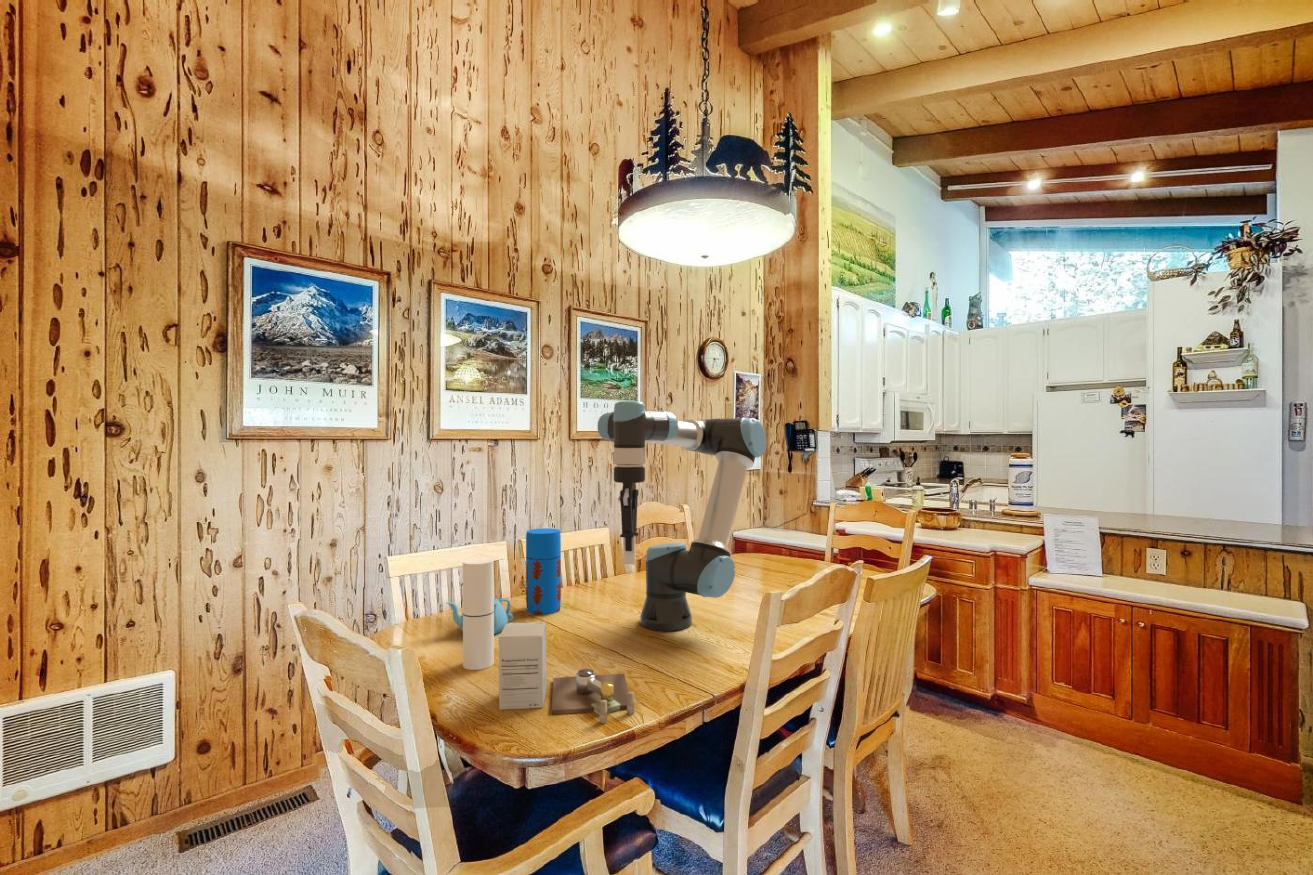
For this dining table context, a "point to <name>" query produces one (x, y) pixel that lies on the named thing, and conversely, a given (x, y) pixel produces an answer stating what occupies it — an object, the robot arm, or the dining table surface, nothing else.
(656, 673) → the dining table surface
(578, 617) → the dining table surface
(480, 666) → the cylindrical container
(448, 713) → the dining table surface
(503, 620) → the teapot
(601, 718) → the dial board
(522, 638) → the supplement box
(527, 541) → the thermos
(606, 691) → the crank handle
